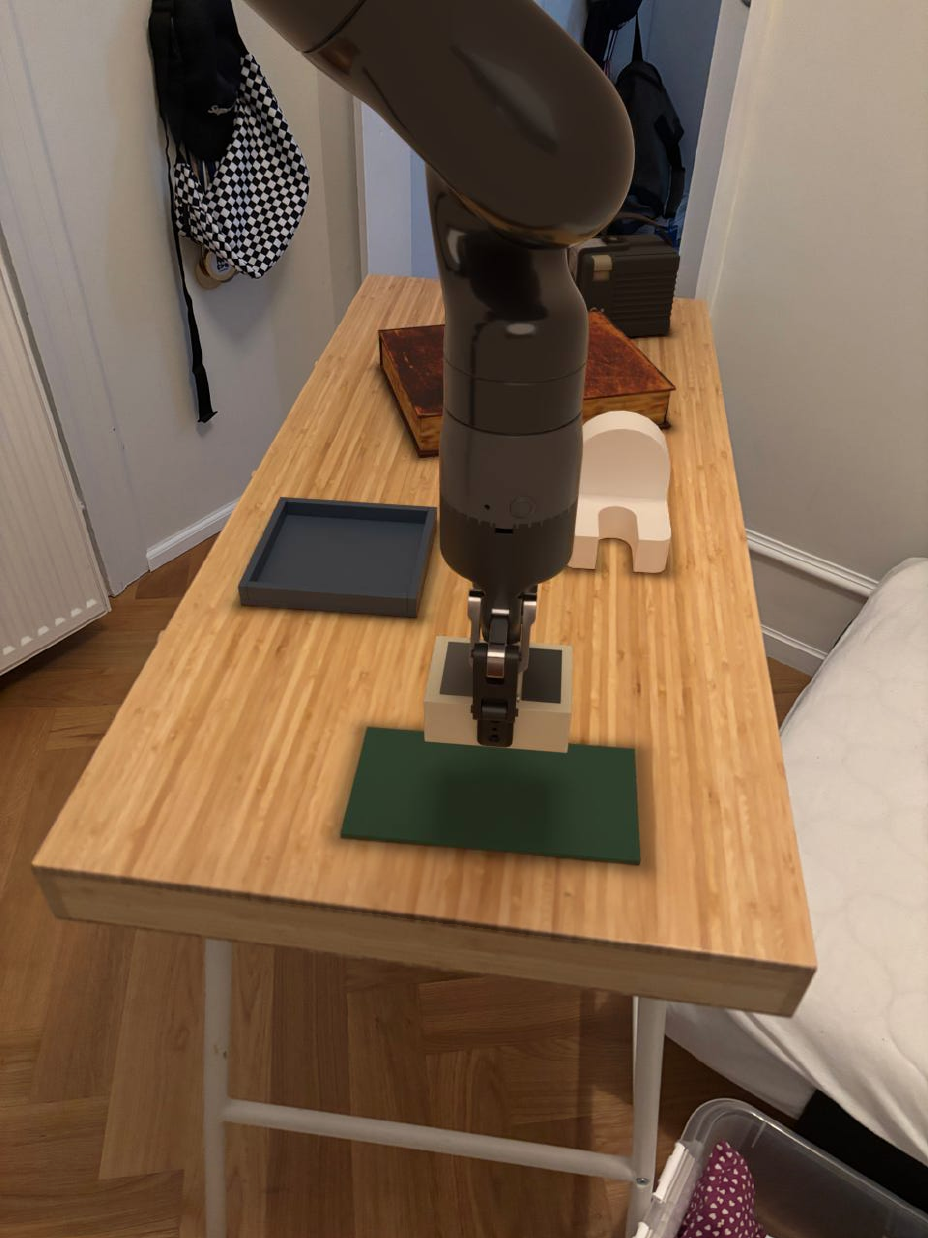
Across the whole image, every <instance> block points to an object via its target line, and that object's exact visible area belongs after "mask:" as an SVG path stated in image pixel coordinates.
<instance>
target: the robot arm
mask: <svg viewBox="0 0 928 1238" xmlns="http://www.w3.org/2000/svg"><path fill="white" fill-rule="evenodd" d="M242 1H243V3H245V4H246V5H247V7H249V8H250V9H252V11H254V12H255V13H256V14H257V15H258V16H259V17H260V18H261V19H262V20H263V21H264V22H266V24H268V25H269V26H270V27H271V28H272V29H273V30H274V31H275V32H276V33H277V34H278V35H280V36H281V37H282V38H283V39H284V40H285V41H286V43H288V44H289V45H290V46H291V47H292V48H293V49H295V50H296V52H299V53H300V55H302V57H304V59H306V60H307V61H308V62H309V63H310V64H312V65H313V66H314V67H315V68H316V69H317V70H318V71H320V72H321V73H322V74H324V75H325V76H326V77H328V78H329V79H330V80H332V81H333V82H335V84H337V85H338V86H340V87H341V88H342V89H343V90H345V91H346V92H348V93H349V94H351V95H352V96H354V97H355V98H357V99H358V100H360V101H361V102H362V103H363V104H365V105H366V106H368V107H369V108H370V109H371V110H373V111H374V112H375V113H376V114H377V115H378V116H379V117H380V118H381V119H382V120H383V121H384V122H385V123H386V124H387V125H388V126H389V127H390V128H391V129H392V130H393V131H394V132H395V133H396V134H397V135H398V136H399V137H400V139H402V140H403V142H405V144H407V146H408V147H409V148H410V149H411V150H412V151H413V152H414V153H415V154H416V155H417V157H419V158H420V159H421V161H423V163H424V176H425V187H426V195H427V196H426V197H427V204H428V212H429V221H430V227H431V232H432V233H431V234H432V239H433V247H434V255H435V260H436V261H435V262H436V267H437V272H438V277H439V284H440V289H441V294H442V301H443V310H444V324H445V329H444V344H443V353H444V355H443V370H444V404H443V417H442V424H441V430H440V439H439V456H438V502H439V503H438V505H439V506H438V507H439V508H438V509H439V511H438V513H439V515H438V516H439V518H438V519H439V520H438V521H439V523H438V524H439V550H440V551H439V552H440V554H441V557H442V559H443V560H444V562H445V564H447V566H448V567H449V568H450V569H451V570H452V571H453V572H454V573H456V575H458V576H460V577H461V578H463V579H466V580H467V581H469V582H471V585H472V586H471V587H472V588H469V589H468V596H467V610H466V611H467V618H468V620H469V621H470V636H469V638H470V652H469V664H470V666H471V667H472V668H473V705H471V711H470V713H473V716H472V718H473V720H477V742H478V743H479V744H480V745H483V746H493V747H509V746H511V745H512V743H513V730H514V723H515V717H518V710H519V708H516V706H517V702H518V703H519V700H520V694H517V693H518V678H519V674H520V673H521V672H524V671H525V670H526V669H527V667H528V658H529V644H530V643H531V642H530V641H531V630H532V625H534V623H535V622H536V620H537V607H538V595H539V594H538V592H539V590H538V589H539V585H540V584H544V583H546V582H548V581H550V580H552V579H554V578H555V577H556V576H558V575H559V574H561V573H562V572H563V570H565V569H566V568H567V567H568V566H567V565H568V563H569V561H570V559H571V557H572V553H573V546H574V536H575V526H576V516H577V507H578V498H579V487H580V478H581V468H582V458H583V426H582V406H583V399H584V389H585V379H586V369H587V359H588V358H587V356H588V346H589V317H588V311H587V307H586V304H585V301H584V299H583V297H582V295H581V293H580V292H579V290H578V288H577V286H576V285H575V283H574V281H573V279H572V276H571V274H570V271H569V267H568V262H567V249H568V248H570V247H573V246H576V245H579V244H581V243H583V242H585V241H587V240H589V239H591V238H592V237H594V236H597V235H598V234H599V233H601V232H600V231H601V230H603V229H604V228H605V227H606V226H607V225H608V224H609V223H610V221H611V220H612V219H613V218H614V216H615V215H616V214H617V213H619V211H620V209H621V207H622V206H623V204H624V202H625V200H626V198H627V195H628V192H629V191H630V187H631V185H632V179H633V176H634V170H635V160H636V159H635V158H636V155H635V153H636V152H635V151H636V149H635V137H634V132H633V131H634V130H633V126H632V123H631V120H630V117H629V114H628V111H627V108H626V106H625V103H624V102H623V100H622V97H621V96H620V94H619V92H618V90H617V89H616V87H615V85H613V83H612V82H611V80H610V79H609V77H608V76H607V75H606V74H605V72H604V71H603V70H602V68H601V67H600V66H599V65H598V64H597V62H596V61H595V60H594V59H593V58H592V57H591V56H590V55H589V54H588V53H587V52H586V51H585V49H584V48H583V47H582V46H581V45H580V44H579V43H578V42H577V41H576V40H575V39H574V38H573V37H572V36H571V35H570V34H569V33H568V32H567V31H566V30H565V29H564V28H563V27H562V26H561V25H560V24H559V23H558V22H557V20H555V19H554V18H553V17H552V16H551V15H550V14H549V13H548V12H546V11H545V10H544V9H543V8H542V7H541V6H540V5H539V4H538V3H537V2H536V1H535V0H242ZM481 638H482V639H484V641H486V642H487V643H480V639H481ZM518 642H521V647H520V645H513V644H515V643H518ZM488 643H489V644H488Z"/></svg>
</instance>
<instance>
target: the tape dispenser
mask: <svg viewBox="0 0 928 1238" xmlns="http://www.w3.org/2000/svg"><path fill="white" fill-rule="evenodd" d="M668 447H669V446H668V443H667V441H666V437H665V435H664V433H663V431H662V429H659V427H658V426H657V425H656V424H655V423H653V422H652V421H651V420H650V419H649V418H647V417H644V416H642V415H640V414H638V413H634V412H628V411H611V412H607V413H604V414H601V415H598V416H596V417H594V418H592V419H591V420H589V421H587V422H586V423H585V424H584V425H583V458H582V468H581V478H580V487H579V498H578V507H577V516H576V526H575V536H574V546H573V553H572V557H571V559H570V561H569V563H568V565H567V566H566V567H569V568H574V569H587V570H595V569H596V562H597V555H598V554H597V553H598V548H599V541H600V540H603V539H607V538H609V539H610V538H611V539H612V538H613V539H619V540H622V541H624V542H626V543H627V544H629V546H630V547H631V554H632V555H631V556H632V565H633V566H632V568H633V572H636V573H651V574H653V573H654V574H658V573H662V572H664V571H665V569H666V566H667V560H668V555H669V550H670V544H671V539H672V538H671V537H672V530H671V522H670V514H669V508H668V502H667V501H668V500H667V498H668V493H669V486H670V480H671V460H670V454H669V449H668Z"/></svg>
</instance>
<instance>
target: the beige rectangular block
mask: <svg viewBox="0 0 928 1238" xmlns="http://www.w3.org/2000/svg"><path fill="white" fill-rule="evenodd" d="M480 643H487V642H486V641H484V639H483V638H480ZM488 644H489V643H488ZM513 645H520V647H521V642H518V643H515V644H513ZM469 652H470V637H461V636H460V637H458V636H445V635H436V636H435V638H434V645H433V649H432V655H431V660H430V665H429V671H428V676H427V681H426V686H425V691H424V696H423V731H424V739H425V741H428V742H440V743H452V744H464V745H476V746H483V745H480V744H479V743H478V742H477V720H473V718H472V716H473V713H470V711H471V705H473V668H472V667H471V666H470V664H469ZM573 667H574V646H573V645H571V644H570V645H568V644H567V645H566V644H556V643H554V644H553V643H540V642H530V644H529V658H528V667H527V669H526V670H525V671H524V672H521V673H520V674H519V678H518V693H517V694H520V700H519V703H518V702H517V706H516V708H519V710H518V717H515V723H514V730H513V743H512V745H511V746H509V747H501V748H513V749H525V750H538V751H550V752H562V753H567V750H568V743H569V742H570V741H569V740H570V733H571V724H572V715H573V677H574V676H573V675H574V674H573V673H574V672H573V670H574V668H573ZM489 747H493V746H489Z"/></svg>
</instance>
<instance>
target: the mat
mask: <svg viewBox="0 0 928 1238" xmlns="http://www.w3.org/2000/svg"><path fill="white" fill-rule="evenodd" d="M636 766H637V765H636V750H635V748H630V747H629V748H628V747H619V746H618V747H616V746H606V745H593V744H583V743H581V744H580V743H569V742H568V750H567V753H562V752H550V751H538V750H525V749H513V748H501V747H489V746H476V745H464V744H452V743H440V742H428V741H425V739H424V730H414V729H413V730H411V729H399V728H386V727H375V726H374V727H373V726H367V727H366V731H365V734H364V738H363V743H362V746H361V751H360V754H359V758H358V762H357V765H356V770H355V774H354V778H353V781H352V786H351V790H350V794H349V797H348V802H347V806H346V809H345V810H346V811H345V813H344V818H343V822H342V826H341V830H340V832H339V833H340V838H346V839H347V838H349V839H357V840H358V839H359V840H369V841H379V842H380V841H381V842H390V843H403V844H413V845H422V846H423V845H425V846H435V847H445V848H446V847H447V848H458V849H469V850H478V851H479V850H480V851H489V852H490V851H491V852H499V853H511V854H523V855H533V856H544V857H557V858H566V859H567V858H568V859H577V860H588V861H600V862H611V863H622V864H633V865H640V864H641V846H640V845H641V844H640V843H641V842H640V826H639V825H640V824H639V823H640V821H639V808H638V807H639V804H638V787H637V786H638V785H637V768H636Z"/></svg>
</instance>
